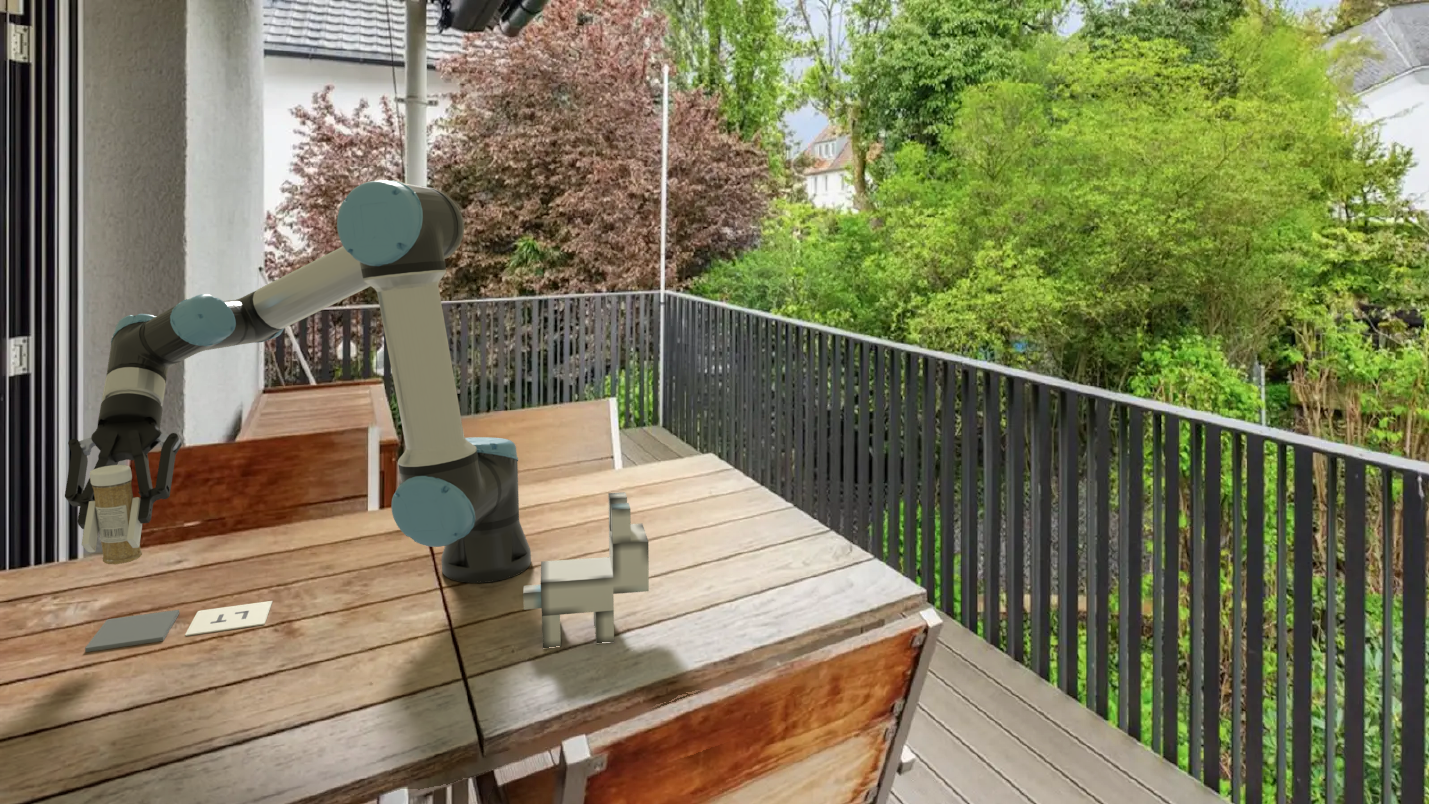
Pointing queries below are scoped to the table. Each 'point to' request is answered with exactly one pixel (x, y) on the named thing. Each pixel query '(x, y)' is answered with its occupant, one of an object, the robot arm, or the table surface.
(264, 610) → the tile
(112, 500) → the sprinkles bottle
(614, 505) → the toy llama
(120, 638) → the coaster
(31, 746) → the table surface
